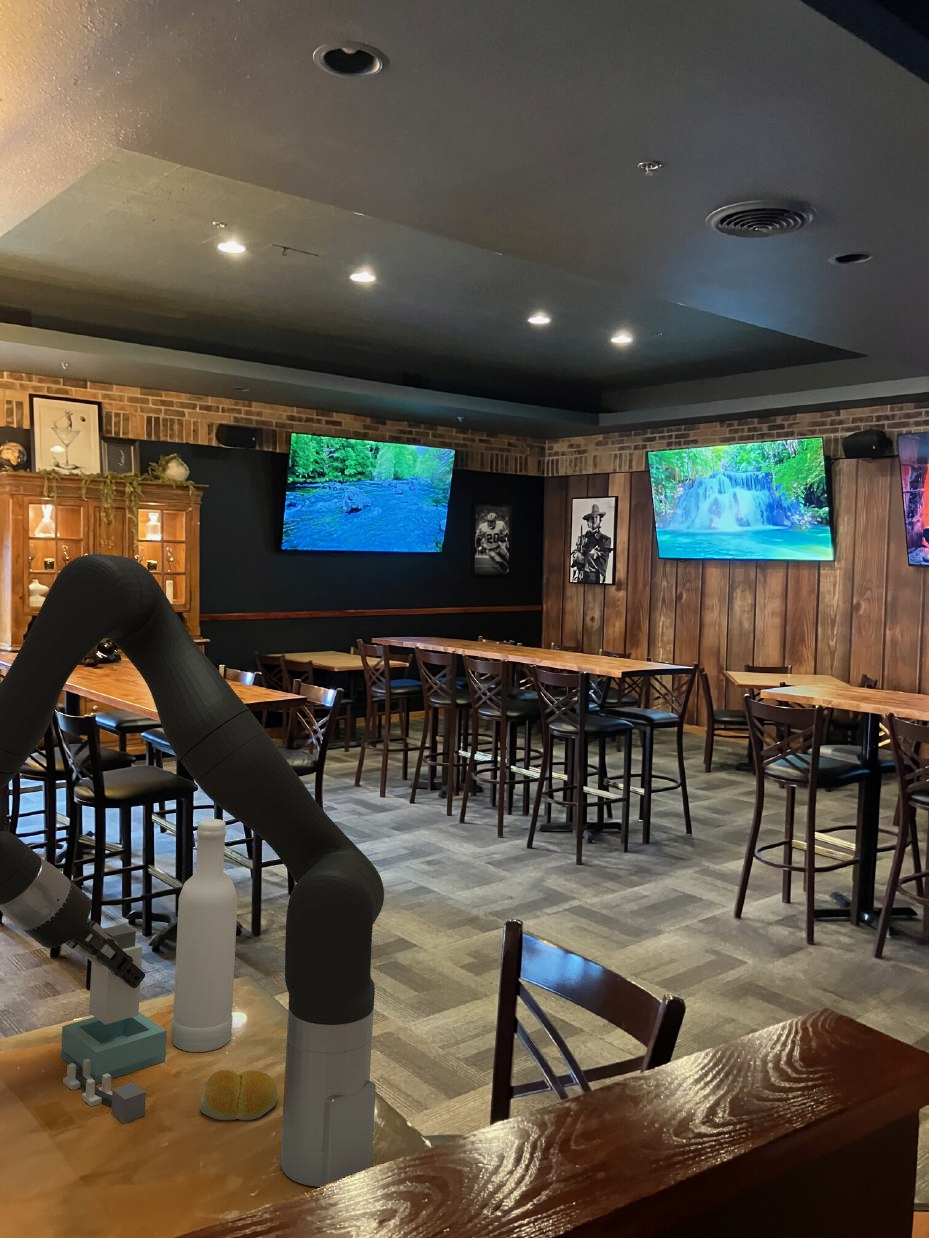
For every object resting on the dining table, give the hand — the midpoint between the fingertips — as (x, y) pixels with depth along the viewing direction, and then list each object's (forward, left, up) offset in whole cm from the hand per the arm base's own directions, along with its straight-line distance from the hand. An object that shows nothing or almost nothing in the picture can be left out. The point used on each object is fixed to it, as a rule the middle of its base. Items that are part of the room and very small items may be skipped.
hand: (129, 974), depth 128 cm
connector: (0, +2, -5) cm, 5 cm away
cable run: (-8, +8, -10) cm, 15 cm away
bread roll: (-20, -4, -11) cm, 23 cm away
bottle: (-3, -10, -11) cm, 15 cm away
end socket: (0, +2, -10) cm, 11 cm away
